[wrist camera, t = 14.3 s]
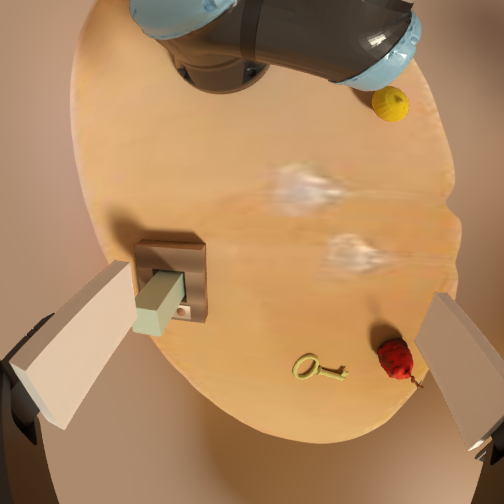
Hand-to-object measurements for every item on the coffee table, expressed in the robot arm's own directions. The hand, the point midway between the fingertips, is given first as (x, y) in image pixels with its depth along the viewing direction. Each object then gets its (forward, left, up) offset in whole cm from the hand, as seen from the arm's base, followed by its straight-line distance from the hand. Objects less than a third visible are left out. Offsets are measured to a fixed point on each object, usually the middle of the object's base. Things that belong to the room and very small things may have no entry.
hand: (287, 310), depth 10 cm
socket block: (+17, -17, -33) cm, 41 cm away
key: (+36, +12, -34) cm, 51 cm away
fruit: (-15, +16, -33) cm, 40 cm away
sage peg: (+17, -17, -33) cm, 41 cm away
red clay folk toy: (+31, +28, -33) cm, 53 cm away
